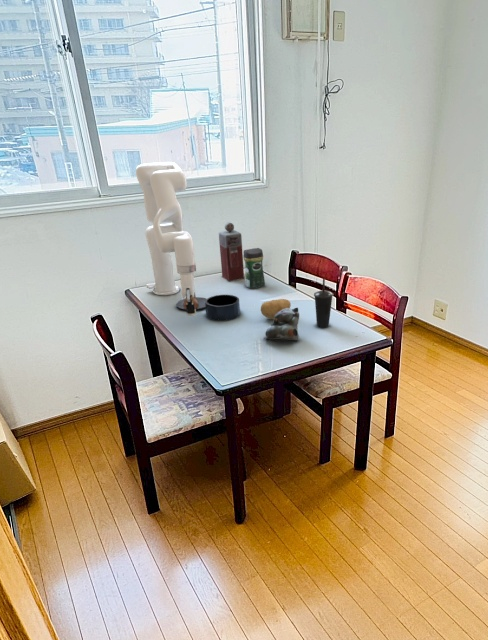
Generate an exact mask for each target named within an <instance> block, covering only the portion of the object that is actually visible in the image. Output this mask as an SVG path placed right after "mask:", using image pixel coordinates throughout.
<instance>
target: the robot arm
mask: <svg viewBox="0 0 488 640" xmlns="http://www.w3.org/2000/svg"><path fill="white" fill-rule="evenodd" d="M135 175H136V179H137V182H138V183H139V185H140V187H141V190H142V193H143V200H144V209H145V214H146V215H145V216H146V219H147V220H148V222H149V223H151V224H152V225H150V226H147V227H146V229H145V233H144V234H145V239H146V242H147V245H148V249H149V253H150V260H151V265H152V271H153V272H152V273H153V277H154V282H153V283H146V286H145V287H146V288H147V289H149V290H152V289H153V291H152V292H153V294H155V295H157V296H171V295H175V294H177V293H179V291H181V298H182V299H185V298H186V308H187V310H186V314H187V315H188V314H193V313H195V308H194V304H193V297H194V292H195V293H196V289H195V288H196V285H195V284H196V283H195V275H194V274H195V273H197V266H196V265H197V264H196V256H195V248H194V240H193V236H192V235H191V234H190V232H188V231H187V230H184V221H183V211H182V207H181V204H180V202H179V201H178V197H177V194H176V193H178V192H180V193H181V192H185V191H186V190H187V186H188V181H187V178H186V174H185V173H184V171H183V170H182V168H181V167H180V166H179V165H178V164H177V163H175V162H173V161H164V162H149V163H142V164H139V165H137V166H136V168H135ZM171 253H174V257H175V264H176V273H177V274H178V275H179V277H180V278H179V279H180V287H179V286H178V285H176V280H175V279H176V278H175V273H174V264H173V257H172V254H171ZM180 288H181V290H180ZM190 296H192V297H190ZM190 298H191V300H190Z"/></svg>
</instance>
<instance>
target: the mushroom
mask: <svg viewBox="0 0 488 640" xmlns="http://www.w3.org/2000/svg"><path fill="white" fill-rule="evenodd" d="M190 297H192V296H190ZM184 299H185V300H184V302H183V305H184V308H185V309H187V308H186V297H185V298H184ZM190 300H191V298H190ZM193 304H194V308H195V313H193V314H187V316H190V317H191V316H193V317H194V316H196V315H197V310H196V308H197V307H198V301H197V300H196V298H194V297H193Z"/></svg>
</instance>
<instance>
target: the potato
mask: <svg viewBox="0 0 488 640" xmlns="http://www.w3.org/2000/svg"><path fill="white" fill-rule="evenodd" d="M286 308H291V301H290V300H288V299H285V298H278V299H272V300H269V301H264V302H263V303H262V304H261V305H260V314H262V316H263V317H265V318H266V319H269V320H274V316H275V315H276V314H277V313H278V312H280V311H281V310H282V309H286Z"/></svg>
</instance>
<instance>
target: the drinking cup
mask: <svg viewBox="0 0 488 640" xmlns="http://www.w3.org/2000/svg"><path fill="white" fill-rule="evenodd" d="M325 284H326V278H325V277H323V278H322V290H318V291H315V292H314V293H313V296H314V304H315V318H316V327H317V328H319V329H327V328H328V327H329V326H330V319H331V318H330V317H331V312H332V311H331V309H332V303H333V296H334V293H333V292H331V291H330V290H326V288H325V286H326V285H325Z"/></svg>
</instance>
